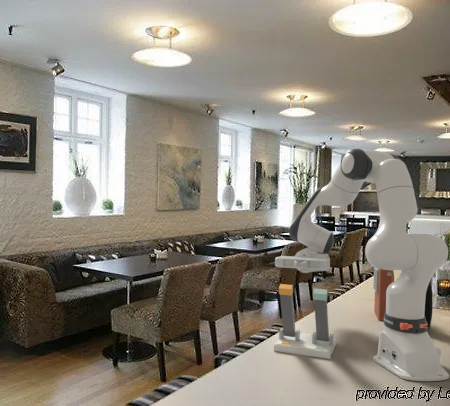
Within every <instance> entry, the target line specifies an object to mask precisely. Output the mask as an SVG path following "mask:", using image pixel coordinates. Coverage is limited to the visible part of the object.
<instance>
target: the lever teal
mask: <svg viewBox="0 0 450 406" xmlns="http://www.w3.org/2000/svg"><path fill="white" fill-rule="evenodd" d="M312 297H313V298H312V299H313V302H314V303H313V304H314V319H315V330H316V331H315V332H316V335H317V338H316V339H317V340H318V341H326V342H328V341H329V336H330V334H329V333H330V332H329V317H328V312H329V311H328V289H321V288H314V289H313V291H312Z"/></svg>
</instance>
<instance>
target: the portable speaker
mask: <svg viewBox="0 0 450 406" xmlns="http://www.w3.org/2000/svg"><path fill="white" fill-rule="evenodd" d="M432 289H433V288H432V279H431V280H430V282H429V285H428V287H427V291H426V298H425V313H424V316H425V317H426V321H427V324H428V325H427V327H428V330H427V332H428V331H429V330H430V328H431V324H432V318H433V317H432V316H433V304H434V303H433V299H434V298H433V297H434V296H433V290H432Z"/></svg>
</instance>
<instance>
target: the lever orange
mask: <svg viewBox="0 0 450 406" xmlns="http://www.w3.org/2000/svg"><path fill="white" fill-rule="evenodd" d="M278 295H279V299H280V307H281V308H280V309H281V321H282V328H283V335H284V336H289V337H295V332H296V323H295V321H296V320H295V307H294V286H293V284H285V283H284V284H283V283H280V284H279V287H278Z"/></svg>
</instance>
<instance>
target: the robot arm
mask: <svg viewBox="0 0 450 406" xmlns="http://www.w3.org/2000/svg"><path fill="white" fill-rule="evenodd" d="M365 182H366V183H368V184H369V183H370V184H375V188H376V196H377V202H378V210H379V224H378V228H377V230H376V232H375V233H374V234H373V236H371V238H369V239H368V241H367V243H366V245H365V248H364V254H365V258H366V260H367V262H368V263H369V265H370V267H373V269H374V268H378V269H383V270H393V271H401V272H400V274H399V276H398V277H397V278H396V279H395V280H394V282H393V283H391V284H390V285H389V286H388V288H387V291H386V312H385V313H384V321H383V324H384V327H383V329H382V330H381V331H380V332H379V335H378V337H379V338H378V344H377V345H378V346H377V353H376V354H375V355H374V356H373V357H372V358H373V359H372V360H373V361H374V362H376V363H377V364H378V365H380V366H382V367H383V368H385V369H386V370H388V371H390V372H391V373H393V374H394V375H396V376H397V377H399V378H401V379H403V380H407V381H414V382H415V381H416V382H436V381H437V382H440V381H445V380H448V379H450V374H449V373H448V371H446V369H445V368H444V366H442V365H441V359H440V357H441V353H442V352H441V351H442V350H441V348H440V347H436V346H435V344H434V340H433V339H432V337H430V335H429V333H428V331H429V330H428V327H427V325H428V324H427V321H426V317H425V316H424V313H425V298H426V291H427V287H428V285H429V282H430V280H431V281H432V278H433V276H434V275H435V273H436V272H437V271H438V270H439V269H440V268H441V267H442V266H444V265H445V263H446V262H447V260H448V257H449V248H448V245H447V243H446V242H445V240H444V239H443V238H442V237H440V236H437V235H433V234H428V233H408V232H407V225H408V223H409V222H411V221H412V220H414V219H415V217H416V216H417V214H418V210H419V209H418V205H417V199H416V196H415V195H416V194H415V190H414V185H413V180H412V178H411V175H410V173H409V170H408V167H407V165H406V163H405V162H404V161H402V159H401V158H400V157H398V156H397V155H395V154H392V153H386V152H383V151H377V150H375V149H361V148H351V149H348V150H347V151H346V152H344V153H343V155H342V158H341V159H340V163H339V165H338V166H337V168H336V170H335V172H334V174H332V177H331V179H330V181H329V182H328V184H326V185H325V186H320V187H318V188H317V189H316V190H315V192H314V193H313V194H312V195H311V196H310V198H309V200H307V202H306V204H304V205H305V206H304V207H303V208H302V210H301V211H300V213H299V214H298V215H297V217H296V218H295V219H294V220H293V221H292V222H291V224H290V225H289V228H288V235H289V237H290V239H291V240H293V241H295V242H297V243H300V244H302V245H304V246H306V248H303V249H300V250H299V251H297V252H296V254H295V255H294V256H293V255H292V256H290V255H281V256H276V257H275V258H274V266H275V267H276V268H285V269H286V268H287V269H296V270H297V271H299V272H300V273H303V274H309V273H314V272H327V271H329V270H331V269H330V268H331V260H330V259H331V258H330V256H329V255H330V253H331V251H332V249H333V247H334V245H335V236H334V234H333V232H332V231H330V230H328V229H326V228H325V227H322V226H320V225H319V224H316V223H315V222H313V221H311V220H310V217H311V215H312V214H313V213H314V211H315V210H316V209H317V207H319V206H330V207H341V208H342V207H347V206H348V205H351V204H352V203H353V202H354V201H355V199H356V198H357V196H358V194H359V193H360V191H361V189H362V187H363V184H364V183H365ZM427 330H428V331H427Z"/></svg>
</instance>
